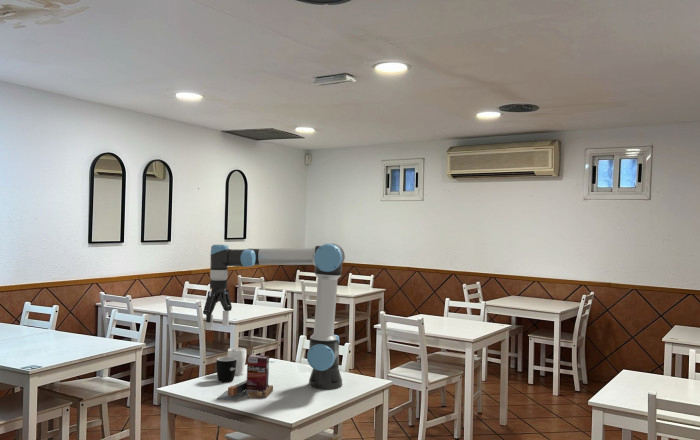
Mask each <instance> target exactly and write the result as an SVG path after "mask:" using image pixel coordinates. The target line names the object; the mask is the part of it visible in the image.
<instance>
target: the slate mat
mask: <svg viewBox="0 0 700 440" xmlns="http://www.w3.org/2000/svg"><path fill="white" fill-rule="evenodd" d="M245 391H246V390H244V391H242V392H240V393H238V394H237V395H235V396H228V389H227V390H225V391H224V392H223V393H221V394H220V395H218V397H217V398H216V399H217V400H222V399H223V400H225V401H227V400H228V401H237V400H238V399H239V398H240V397H241V396H242V395H243V394H246V393H245Z"/></svg>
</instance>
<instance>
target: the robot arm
mask: <svg viewBox="0 0 700 440" xmlns="http://www.w3.org/2000/svg"><path fill="white" fill-rule="evenodd" d="M209 256H210V269H209V271H210V272H209V273H210V275H209V277H210V281H209V288H210V289H211V290H212V291H207V296H206V300H205V304H204V307H203V311H202V313H203V315H205V319H206V320H205V322H206V323H205V330H206V331H213V322H214V319H213V318H214V315H213V313H214V309H215V307H216V305H217V303H218V302H219V303H220V305H221V307H222V309H223V310H222V324H221V325H222V326H226V327H228V326H229V322H230V321H229V319H230V317H229V316H230V315H229V314H230V312H231V311H232V302H231V298H230V293H229V292H230V291H229V289H228V280H227V279H228V277H229V276H228V269H229V268H228V267H245V268H248V267H254V266H273V265H274V266H275V265H276V266H280V265H283V266H284V265H285V266H290V265H291V266H296V265H298V266H299V265H302V266H303V265H305V266H306V265H313V266H314V275H315V276H316V277H317V286H316V297H315V299H316V301H315V313H314V314H315V316H314V324H313V325H314V326H313V333H312V334H311V335H310V337H309V347H308V351H307V354H306V359H307V363H308V365H309V366H310V367H311V368H312V370H311V373H310V376H309V378H308V379H309V380H308V386H309V387H311V388H313V389H318V390H333V389H338V387H339V388H341V387H343V378H342V375H341V371H340V369H339V364H340V342H341V341H340V336H339V335H337V334H335V333H334V332H335V319H336V318H335V317H336V307H337V305H336V304H337V291H338V279H340V278H341V277H342V271H343V264H344V261H345V259H346V257H345V251H344V249H343V248H342V247H341V246H340V245H339V244H336V243H324V244H322V245H315V246H314V247H301V248H300V247H298V248H297V247H296V248H295V247H294V248H293V247H292V248H286V247H285V248H283V247H282V248H245V249H244V248H243V249H236V248H235V249H230V248H229V245H228V244H212V246H211V247H210V255H209Z"/></svg>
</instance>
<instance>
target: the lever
mask: <svg viewBox="0 0 700 440" xmlns="http://www.w3.org/2000/svg"><path fill="white" fill-rule="evenodd" d="M246 388H247V379H246V380H244V381H242V382H239V383H237V384H234V385H231V386H229V387H228V388H227V390H228V396H235V395H237V394H238V393H240V392H242V391H246Z"/></svg>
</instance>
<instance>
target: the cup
mask: <svg viewBox="0 0 700 440" xmlns="http://www.w3.org/2000/svg"><path fill="white" fill-rule="evenodd" d="M227 357H234V358H236V370H235V376H237V377H239V376H242V375H244V372H245V366H246V360H247V348H245V347H231V348H230V347H229V348H228V349H227ZM235 376H234V377H235Z"/></svg>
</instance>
